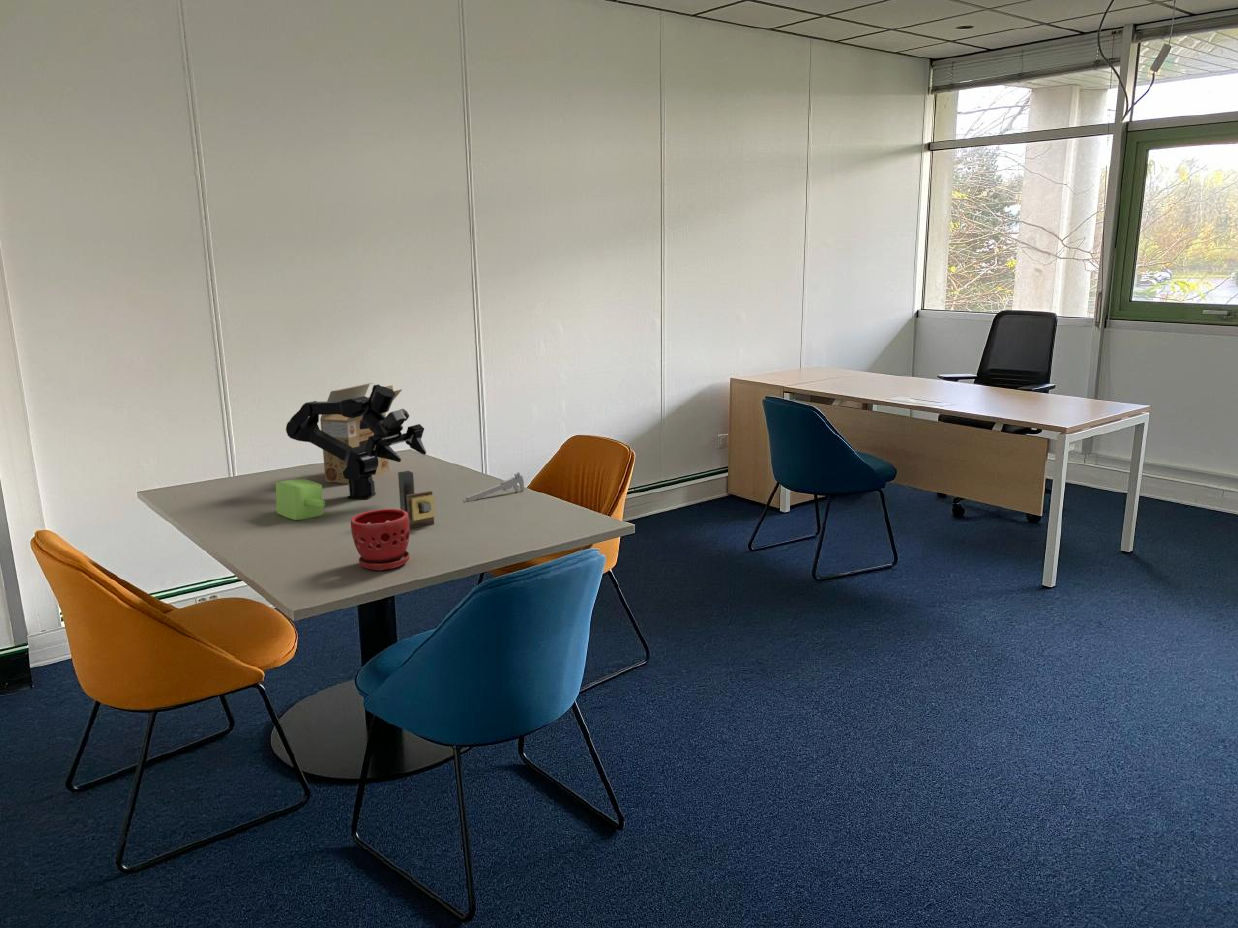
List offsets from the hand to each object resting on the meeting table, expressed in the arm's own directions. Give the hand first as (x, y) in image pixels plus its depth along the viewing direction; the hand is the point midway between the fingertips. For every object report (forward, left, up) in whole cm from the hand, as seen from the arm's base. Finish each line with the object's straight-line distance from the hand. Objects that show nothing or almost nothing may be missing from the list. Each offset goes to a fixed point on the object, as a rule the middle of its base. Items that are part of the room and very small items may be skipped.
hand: (413, 457), depth 266 cm
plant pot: (+10, -51, -15) cm, 54 cm away
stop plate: (+7, -18, -15) cm, 25 cm away
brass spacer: (+9, -20, -12) cm, 25 cm away
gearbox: (-29, -11, -15) cm, 34 cm away
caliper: (+19, +14, -15) cm, 28 cm away
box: (-31, +36, -15) cm, 49 cm away
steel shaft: (+7, -17, -14) cm, 23 cm away
